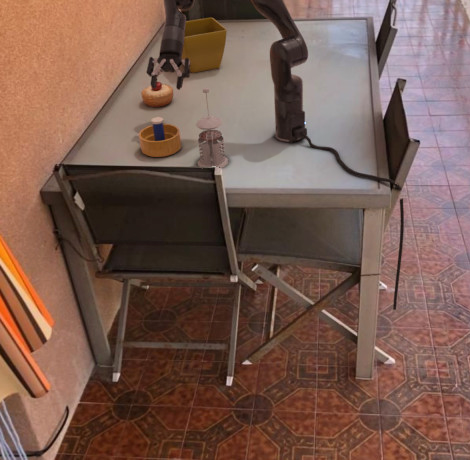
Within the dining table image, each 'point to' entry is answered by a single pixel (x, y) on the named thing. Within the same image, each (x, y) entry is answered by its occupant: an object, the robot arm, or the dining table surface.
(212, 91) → the dining table surface
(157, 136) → the vial
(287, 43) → the robot arm
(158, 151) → the bowl
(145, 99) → the pastry
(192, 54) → the flower pot
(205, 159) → the french press
